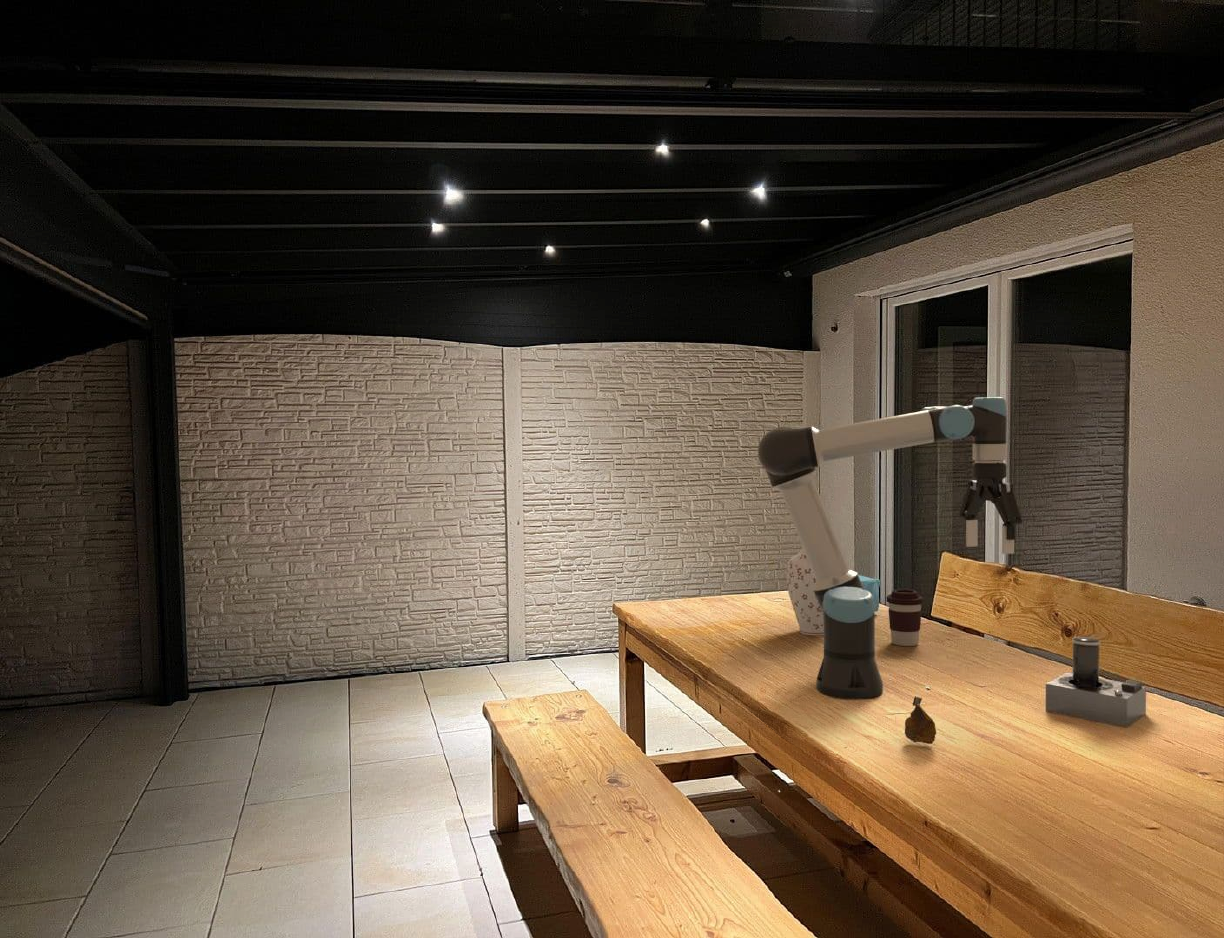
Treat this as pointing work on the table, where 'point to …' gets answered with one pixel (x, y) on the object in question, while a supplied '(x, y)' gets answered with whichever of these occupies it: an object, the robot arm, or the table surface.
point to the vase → (804, 595)
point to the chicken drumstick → (920, 725)
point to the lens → (1086, 661)
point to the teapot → (871, 588)
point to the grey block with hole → (1097, 700)
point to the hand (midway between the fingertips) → (989, 550)
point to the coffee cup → (905, 616)
